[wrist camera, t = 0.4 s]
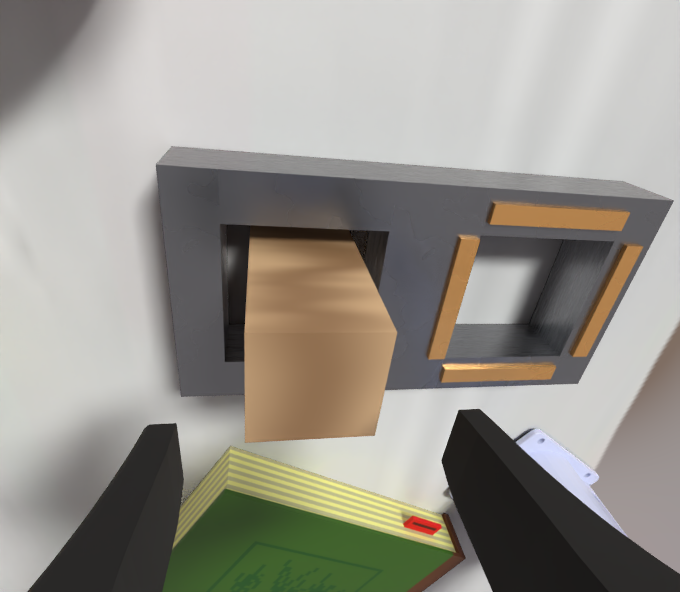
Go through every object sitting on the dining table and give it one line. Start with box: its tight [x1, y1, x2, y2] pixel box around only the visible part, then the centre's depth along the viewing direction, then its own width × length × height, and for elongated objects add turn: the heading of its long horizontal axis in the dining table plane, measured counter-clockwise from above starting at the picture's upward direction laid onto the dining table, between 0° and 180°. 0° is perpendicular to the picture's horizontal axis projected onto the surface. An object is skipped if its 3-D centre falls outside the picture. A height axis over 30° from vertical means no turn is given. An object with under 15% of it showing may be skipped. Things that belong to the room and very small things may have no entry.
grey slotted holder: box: [156, 146, 674, 397], centre depth 19 cm, size 20×10×3 cm, turn 84°
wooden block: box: [244, 225, 397, 443], centre depth 16 cm, size 4×4×8 cm
